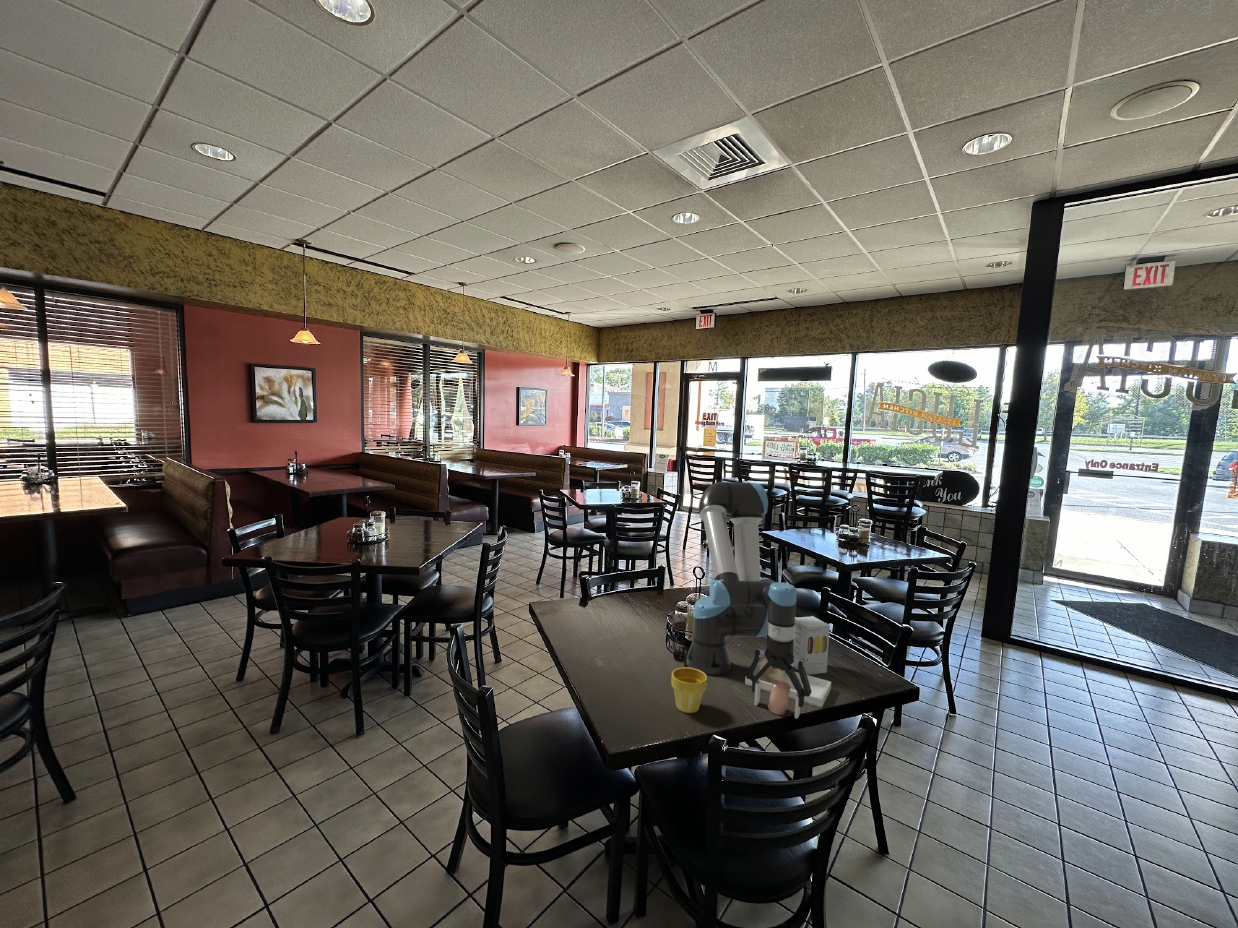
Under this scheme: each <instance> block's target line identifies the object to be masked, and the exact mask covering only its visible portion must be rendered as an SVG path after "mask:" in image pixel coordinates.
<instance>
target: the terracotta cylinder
mask: <svg viewBox="0 0 1238 928" xmlns="http://www.w3.org/2000/svg"><path fill="white" fill-rule="evenodd" d="M790 688H791V687H790V685H789V684H788V683H787V682H785V681H782V680H774V681H773V684H772V689H771V693H770V694H769V699H768V705H767V708H768V710H769V711H770V712H771V713H773V714H775V715H777V716H782V715H785V714H786V711H787V707H788V701H789V699H790V698H789V693H790Z"/></svg>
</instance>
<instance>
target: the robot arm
mask: <svg viewBox="0 0 1238 928" xmlns="http://www.w3.org/2000/svg"><path fill="white" fill-rule="evenodd" d="M768 507H769V499H768V495H767V492H766V490H765V488H764V486H763V485H762V484H761V483H758V482H757V483H756V482H750V481H748V482H746V481H745V482H744V481H737V482H736V481H735V482H734V481H733V482H732V481H730V482H729V481H719V482H715V483H713V484H711V485H709V486H708V487H707V488H706V489H705V491H704V492H703V493H702V494H701V497H700V499H699V503H698V513H699V514H698V515H699V518H700V520H701V521H702V522H703V525H704V530H705V535H706V536H705V537H706V541H707V545H708V552H709V557H710V562H711V567H712V571H713V572H712V573H713V578H714V580H711V582H710V583H709V590H708V591H709V596H703V597H701V598H699V599H697V600H696V601H695V603H694V607H693V613H692V616H693V621H692V623H693V624H692V641H691V644H690V648H689V650H688V652H687V654H686V655H687V656H686V665H687V666H688V667H689V668H695V669H698V670H700V671H702V672H704V673H705V674H706V675H709V676H716V675H717V676H718V675H723V674H726V673H728V672H730V670H731V664H732V662H731V658H730V654H729V650H728V646H727V640H728V638H734V637H735V638H744V637H745V638H749V637H750V638H755V639H756V638H757V637H758V638H760V637H765V636H766V648H765V649H762V648H761V647H758V648H756V650H755V651H754V658H753V660H752V663H751V665H750V667H749V669H748V670H747V671H748V672H747V673H746V675H745V677H746V678H747V679H750V680H751V681H752V687H751V692H752V693H754V702H753V703H754V704H753V705H754V706H758V705H759V703H760V701H761V698H760V697H761V689H760V685H761V681H759V680H758V679H759V678H760V677H761V676H762V675H763V674H764V672H765V671H766V670H767V669H768V668H769V667H770V666H772V667H773V668H775V669H780V670H782V671H783V670H785V672H786V674H787V675H788V676H789V678H790V680H791V682H792V684H793V686H794V687H795V689H796V691H797V695H796V700H795V701H794V702H795V706H794V707H795V708H794V719H796V720H797V719H798V718H799V717H800V713H801V708H803V707H804V704H805V703H804V696H807V697H809V696H810V694H811V692H812V691H811V688H810V684H809V681H808V678H807V674H806V671H805V668H804V663H805V660H804V659H796V658H794V655H793V649H794V640H793V638H794V629H795V618H796V611H797V610H796V609H797V600H798V599H797V588H796V587H795V586H794V585H793V584H789V583H787V582H780V581H779V582H776V581H774V580H772V579H770V578H769V577H768V578H767V577H761V561H760V538H759V537H760V536H759V533H760V532H759V531H760V530H759V524H760V523H761V522H762V520H763V516H765V515H766V514H767V513H768ZM727 515H729V516H728V517H729V521H731V523H733V532H734V533H733V534H734V535H733V536H734V537H733V538H734V541H733V542H734V550H733V547H732V541H731V539H730V534H729V530H728V525H727V524H728V523H727V520H726V518H727ZM763 657H764V658H765V657H766V658H767V660H768V662H767V663H766V664H765V665H764V667H763V668H762V669H761V670H760V671H759V672H758V673H757V674H756V675H753V673H754V671H755V669H756V666H757V664H758V662H760V661H761V658H763ZM793 663H795V664H796V667H798V670H797V671H798V673H799V675H800V678H801V682H802V685H803V687H802V685H801V683H800V681H799V680H798V678H797V676H796V674H795V672H796V671H795V670H794V667H793V666H792V664H793Z"/></svg>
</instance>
